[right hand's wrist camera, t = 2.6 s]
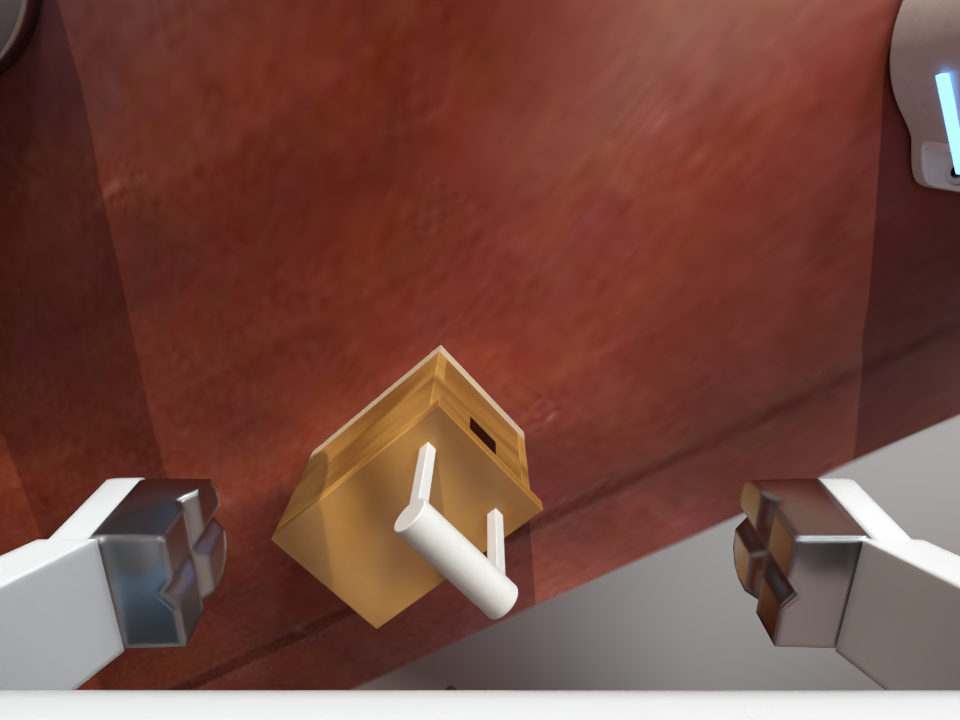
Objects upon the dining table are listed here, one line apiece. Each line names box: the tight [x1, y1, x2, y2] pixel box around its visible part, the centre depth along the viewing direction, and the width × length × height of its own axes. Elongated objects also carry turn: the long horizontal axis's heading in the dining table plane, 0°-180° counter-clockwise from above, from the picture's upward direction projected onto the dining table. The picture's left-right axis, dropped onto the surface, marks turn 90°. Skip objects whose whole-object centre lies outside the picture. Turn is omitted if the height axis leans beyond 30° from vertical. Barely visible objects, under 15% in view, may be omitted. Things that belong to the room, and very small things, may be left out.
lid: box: [271, 398, 543, 629], centre depth 37 cm, size 14×9×9 cm
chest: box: [276, 345, 530, 530], centre depth 46 cm, size 13×9×10 cm
